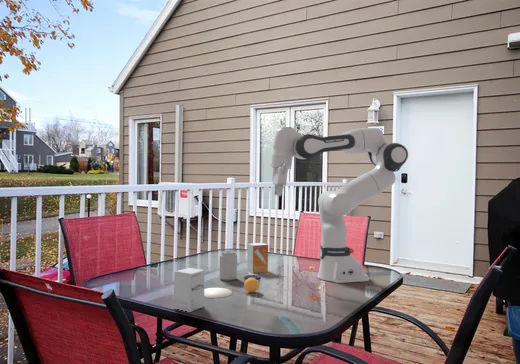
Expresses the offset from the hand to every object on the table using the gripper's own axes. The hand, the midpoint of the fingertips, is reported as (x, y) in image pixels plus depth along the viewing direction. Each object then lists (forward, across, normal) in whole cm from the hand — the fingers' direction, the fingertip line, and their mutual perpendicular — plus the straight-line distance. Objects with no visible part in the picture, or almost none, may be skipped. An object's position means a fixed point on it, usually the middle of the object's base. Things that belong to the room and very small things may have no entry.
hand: (277, 195), depth 168 cm
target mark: (+39, -19, +22) cm, 49 cm away
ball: (+35, -19, +8) cm, 41 cm away
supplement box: (+40, -36, +30) cm, 62 cm away
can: (+39, +2, +17) cm, 43 cm away
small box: (+38, +16, +3) cm, 41 cm away
